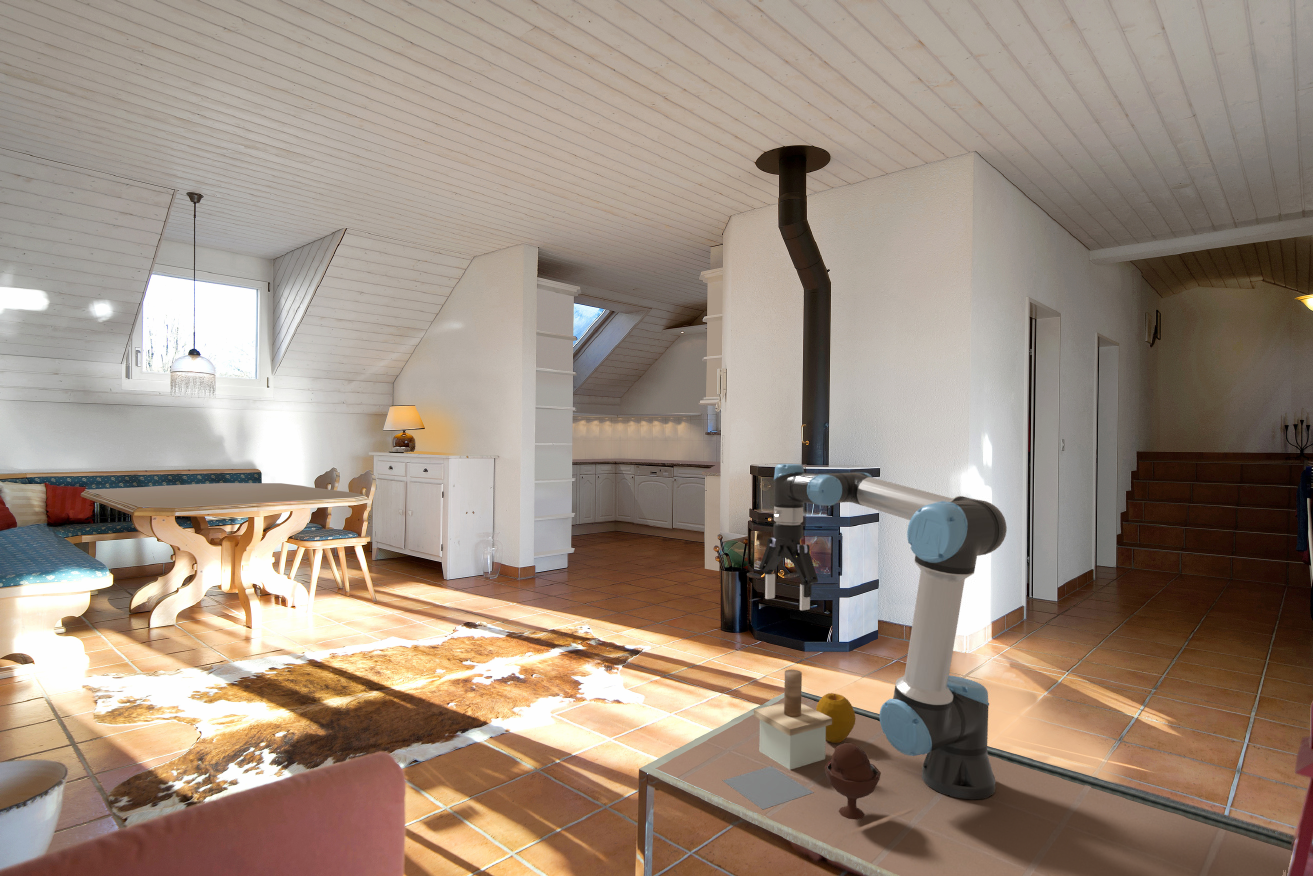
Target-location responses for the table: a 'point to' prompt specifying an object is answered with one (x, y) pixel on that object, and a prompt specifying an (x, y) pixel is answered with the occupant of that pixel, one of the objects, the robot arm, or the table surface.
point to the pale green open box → (792, 746)
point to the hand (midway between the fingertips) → (786, 603)
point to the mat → (767, 787)
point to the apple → (837, 716)
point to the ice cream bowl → (851, 777)
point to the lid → (792, 710)
